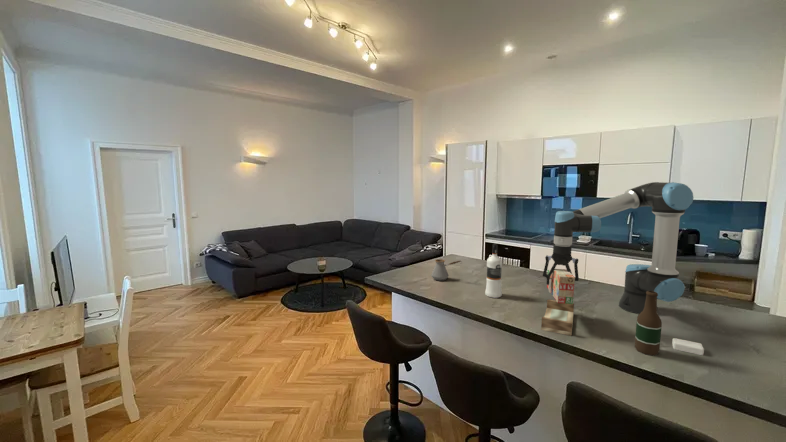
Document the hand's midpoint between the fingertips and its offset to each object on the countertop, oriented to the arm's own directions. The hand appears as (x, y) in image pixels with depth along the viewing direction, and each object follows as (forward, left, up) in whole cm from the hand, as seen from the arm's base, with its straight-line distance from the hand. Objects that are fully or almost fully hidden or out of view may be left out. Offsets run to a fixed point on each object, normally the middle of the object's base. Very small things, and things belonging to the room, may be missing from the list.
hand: (559, 293), depth 157 cm
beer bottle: (-32, +13, -14) cm, 37 cm away
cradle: (0, 0, -14) cm, 14 cm away
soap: (-46, +4, -15) cm, 49 cm away
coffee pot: (+69, -35, -14) cm, 79 cm away
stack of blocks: (0, 0, -1) cm, 1 cm away
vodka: (+35, -21, -14) cm, 43 cm away
